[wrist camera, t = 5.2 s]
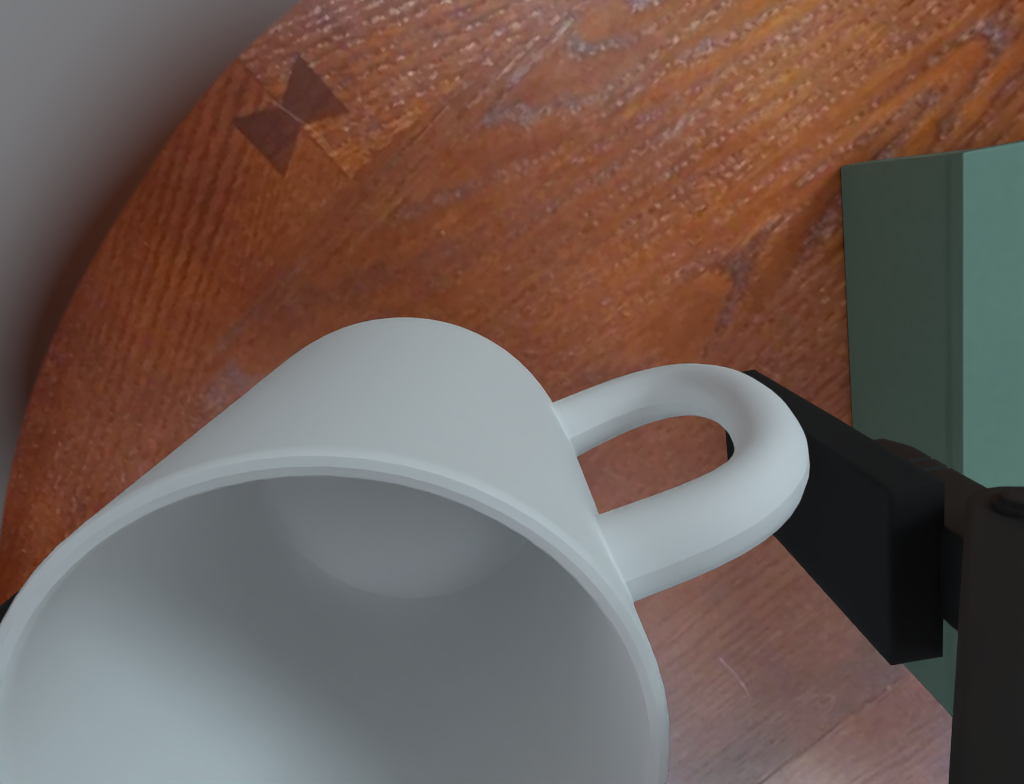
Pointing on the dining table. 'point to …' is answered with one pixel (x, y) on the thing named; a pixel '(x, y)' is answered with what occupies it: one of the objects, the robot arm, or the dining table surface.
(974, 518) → the robot arm
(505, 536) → the cup
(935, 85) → the dining table surface
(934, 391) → the green box
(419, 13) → the dining table surface
